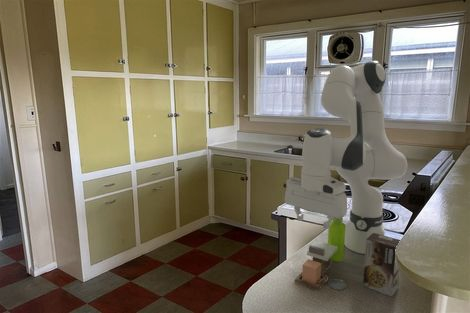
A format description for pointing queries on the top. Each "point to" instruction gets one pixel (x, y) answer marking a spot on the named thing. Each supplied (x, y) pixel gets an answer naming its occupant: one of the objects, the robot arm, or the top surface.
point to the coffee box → (381, 264)
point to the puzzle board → (323, 278)
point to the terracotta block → (311, 271)
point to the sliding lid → (322, 251)
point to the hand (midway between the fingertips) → (313, 223)
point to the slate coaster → (337, 284)
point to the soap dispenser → (337, 238)
